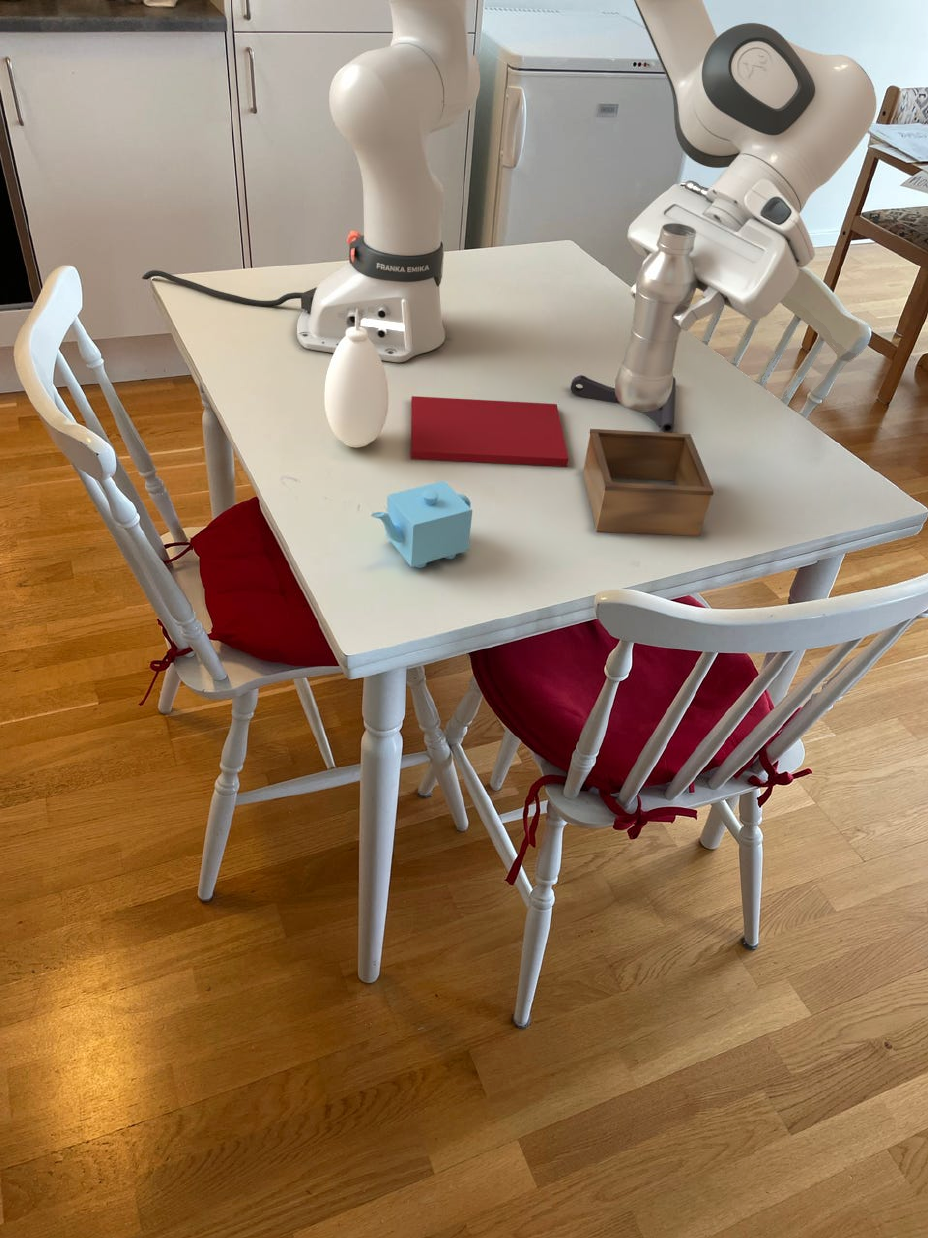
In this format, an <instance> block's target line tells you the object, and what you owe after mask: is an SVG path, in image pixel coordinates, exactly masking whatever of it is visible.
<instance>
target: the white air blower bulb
mask: <svg viewBox="0 0 928 1238" xmlns="http://www.w3.org/2000/svg"><path fill="white" fill-rule="evenodd" d="M382 361H383V360H381V359H380V356H379V354H378V352H377V350H376V348H375V346H374V345H373V343H372V342H371V340H370V339H369V338H368V332H367V330H366V329H364V328H362V327H359V315H358V309H356V313H355V327H350V328H348V329H347V330H346V336H345V337H344V338H343V339H342V341H341V342H340V343H339V345H338V346H337V348H336V350H335V352H334V353H332V357H331V360H330V362H329V365H328V368H327V372H326V375H325V382H324V389H323V390H324V391H323V392H324V396H323V398H324V399H323V400H324V411H325V416H326V419H327V422H328V425H329V427H330V429H331V431H332V432H333V434H334V436H335V437H336V438H337V439H338V440H339V441H340V442H342V443H343V444H344V445H346V446H347V447H351V448H362V447H366V446H368V445H369V444H370V443H372V442H374V441H375V440H377V438H378V436H379V435H380V434H381V432H382V430H383V428H384V426H385V423H386V419H387V416H388V412H389V386H388V378H387V375H386V371H385V367H384V365H383V362H382Z"/></svg>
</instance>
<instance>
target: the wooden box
mask: <svg viewBox="0 0 928 1238" xmlns="http://www.w3.org/2000/svg"><path fill="white" fill-rule="evenodd" d="M582 475H583V479H584V485H585V489H586V493H587V498H588V501H589V506H590V510H591V514H592V518H593V523H594V526H595V527H594V528H595V531H596V532H602V533H626V534H627V533H628V534H648V535H649V534H651V535H673V536H692V537H693V536H694V537H695V536H697V537H699V536H700V534H701V531H702V528H703V525H704V522H705V519H706V515H707V511H708V508H709V505H710V501H711V498H712V496H713V495H714V492H715V491H714V488H713V487H712V483H711V481H710V479H709V476H708V474H707V471H706V469H705V467H704V464H703V461H702V459H701V457H700V454H699V452H698V449H697V447H696V444H695V441H694V439H693V437H692V434H691V433H678V432H677V433H676V432H672V433H664V432H663V431H661V432H659V431H643V430H642V431H640V430H622V429H601V428H589V439H588V443H587V448H586V453H585V459H584V465H583V470H582ZM612 478H617V479H619V478H620V479H639V480H661V481H674V484H655V483H654V484H653V483H631V482H612Z"/></svg>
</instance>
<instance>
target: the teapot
mask: <svg viewBox="0 0 928 1238" xmlns="http://www.w3.org/2000/svg"><path fill="white" fill-rule="evenodd" d="M386 500H387V501H386V512H384V511H377V512H373V513H371V515H370V516H371V517H372V518H376V519H379V520H380V521H381V522H382V523H383V527H384V531H385V536H386V537H387V539H388V540H389V542H391V544H392V545H393V546H394V548H395V550H397V551H398V553H399V554H400V555H401V556H402V558H403V559H404V560H405V561H406V562H407V564H408V565H409V567H411V568H412V567H416V568H419V569H421V568H424V567H426V566H427V563H430V562H433V561H438V560H441V559H443V558H444V559H446V560H453V559H455V558H456V556H457V555H458V554H462V553H464V552H469V547H470V536H471V529H472V528H471V527H472V519H473V509H472V508H471V500H470V498H468V496H467V495H464V494H462V493H457V492H456V491H455V490H454V489H453V488H452V487H451V486H450V485H449V483H448V482H447V481H446V480H442V481H438V482H433V483H428V484H426V485H421V486H417V487H414V488H409V489H406V490H402V491H398V492H394V493H390V494H388V495H387V499H386Z"/></svg>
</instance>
